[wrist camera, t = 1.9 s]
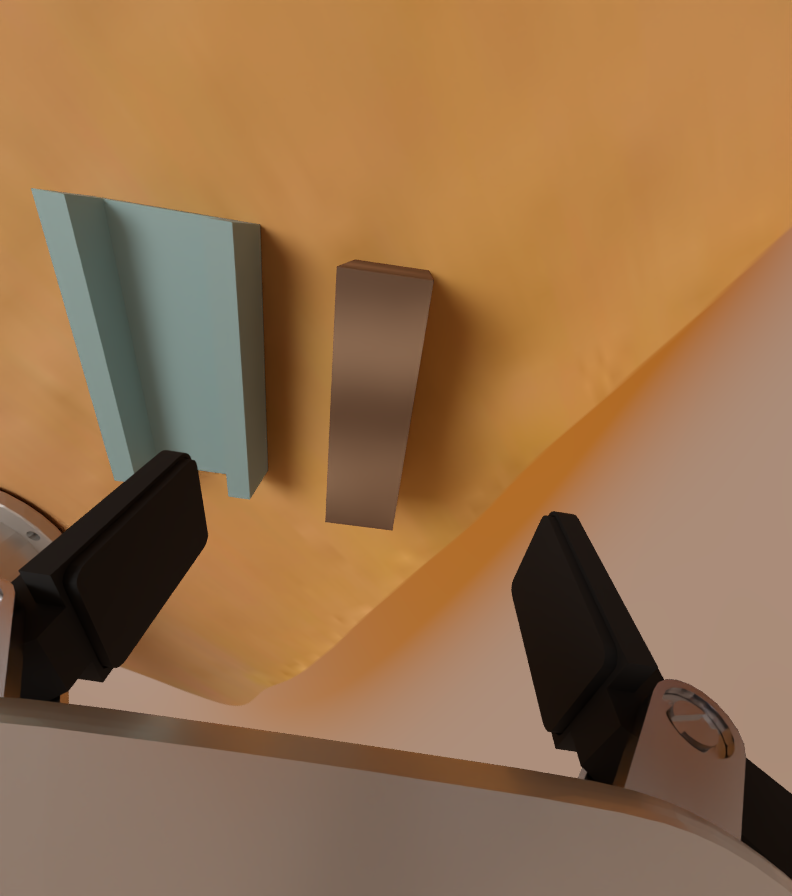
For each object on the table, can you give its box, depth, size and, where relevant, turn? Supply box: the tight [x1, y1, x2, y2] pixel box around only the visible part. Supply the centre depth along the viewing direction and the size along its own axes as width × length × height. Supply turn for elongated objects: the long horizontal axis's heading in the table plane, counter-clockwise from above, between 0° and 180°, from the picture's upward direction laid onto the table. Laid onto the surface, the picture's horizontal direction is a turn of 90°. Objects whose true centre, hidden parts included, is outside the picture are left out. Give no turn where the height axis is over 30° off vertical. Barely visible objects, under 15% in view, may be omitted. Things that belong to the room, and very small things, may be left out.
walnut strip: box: [325, 260, 434, 530], centre depth 18 cm, size 12×4×5 cm, turn 172°
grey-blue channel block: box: [31, 188, 268, 499], centre depth 19 cm, size 14×8×3 cm, turn 171°
